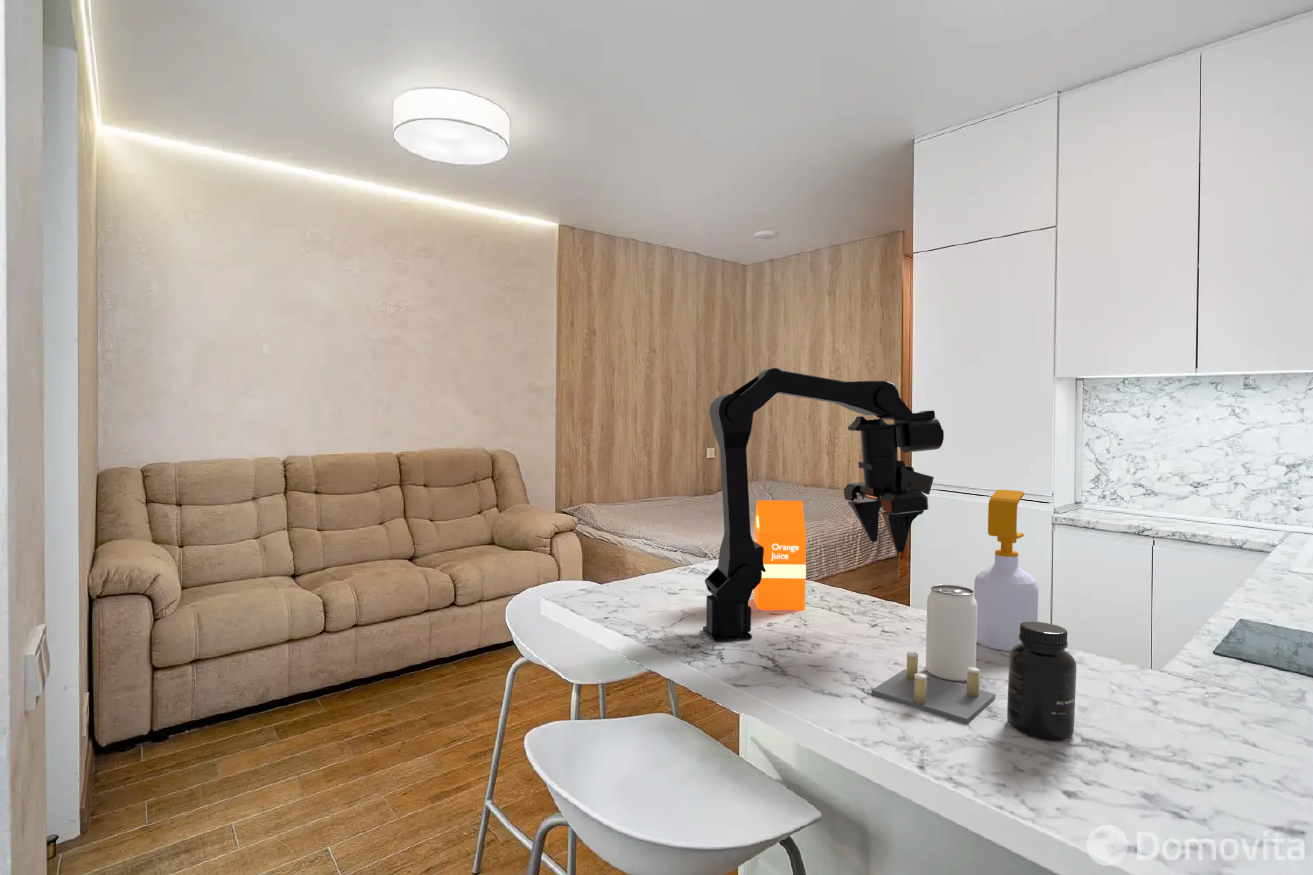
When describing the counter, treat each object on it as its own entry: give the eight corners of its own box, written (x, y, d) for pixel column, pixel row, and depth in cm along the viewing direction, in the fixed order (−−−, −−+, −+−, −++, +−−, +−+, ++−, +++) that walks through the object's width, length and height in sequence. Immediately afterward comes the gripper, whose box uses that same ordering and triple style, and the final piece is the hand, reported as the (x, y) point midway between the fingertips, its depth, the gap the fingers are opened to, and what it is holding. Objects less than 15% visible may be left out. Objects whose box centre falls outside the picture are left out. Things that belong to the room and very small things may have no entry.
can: (983, 683, 92) (986, 595, 92) (936, 682, 92) (938, 595, 92) (963, 665, 99) (965, 584, 98) (918, 664, 99) (920, 583, 98)
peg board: (871, 694, 88) (872, 664, 88) (904, 673, 95) (904, 646, 95) (967, 723, 80) (968, 691, 80) (995, 698, 87) (995, 668, 87)
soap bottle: (1043, 643, 109) (1047, 491, 108) (1027, 657, 102) (1031, 495, 101) (983, 630, 115) (987, 486, 114) (965, 643, 108) (968, 490, 107)
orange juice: (805, 610, 126) (807, 503, 126) (758, 609, 126) (759, 503, 126) (797, 598, 134) (798, 498, 133) (752, 598, 134) (753, 497, 133)
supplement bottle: (1074, 748, 74) (1077, 640, 74) (1004, 732, 78) (1006, 629, 77) (1074, 724, 80) (1077, 624, 80) (1009, 711, 84) (1012, 614, 83)
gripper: (956, 454, 106) (962, 551, 107) (896, 448, 125) (902, 531, 126) (889, 461, 105) (896, 560, 106) (839, 453, 123) (846, 538, 124)
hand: (886, 546), depth 115 cm, fingers open, 9 cm apart
